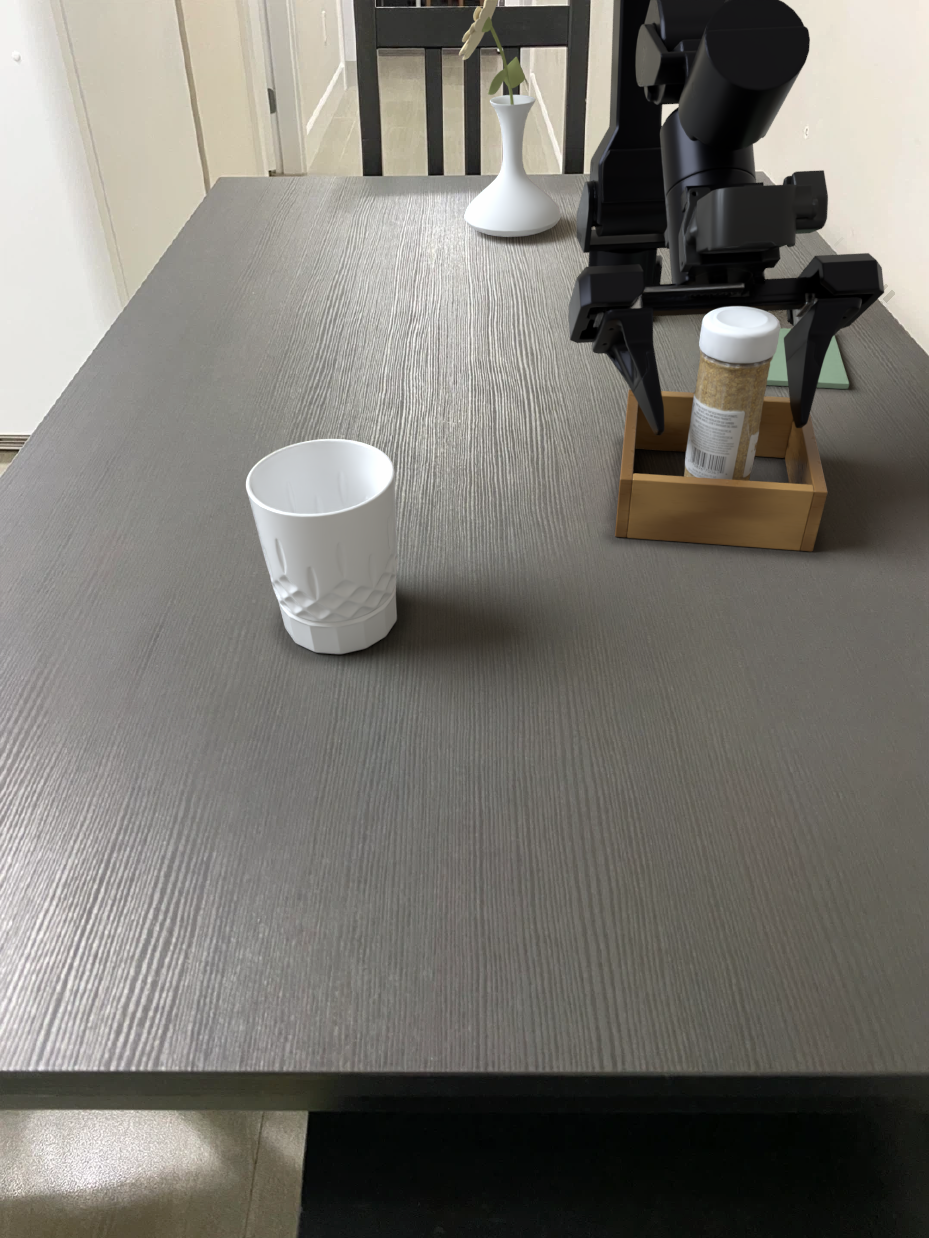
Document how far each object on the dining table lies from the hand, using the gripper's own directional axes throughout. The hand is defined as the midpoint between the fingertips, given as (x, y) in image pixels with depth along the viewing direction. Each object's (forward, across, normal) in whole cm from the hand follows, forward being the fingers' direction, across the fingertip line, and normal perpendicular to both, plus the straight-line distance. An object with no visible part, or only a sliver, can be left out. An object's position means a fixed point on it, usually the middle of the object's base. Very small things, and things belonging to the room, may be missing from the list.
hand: (730, 430), depth 59 cm
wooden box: (+2, 0, +7) cm, 8 cm away
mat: (-12, +12, +22) cm, 28 cm away
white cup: (+11, -25, -1) cm, 27 cm away
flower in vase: (-39, -9, +48) cm, 63 cm away
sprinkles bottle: (+4, 0, +6) cm, 7 cm away
